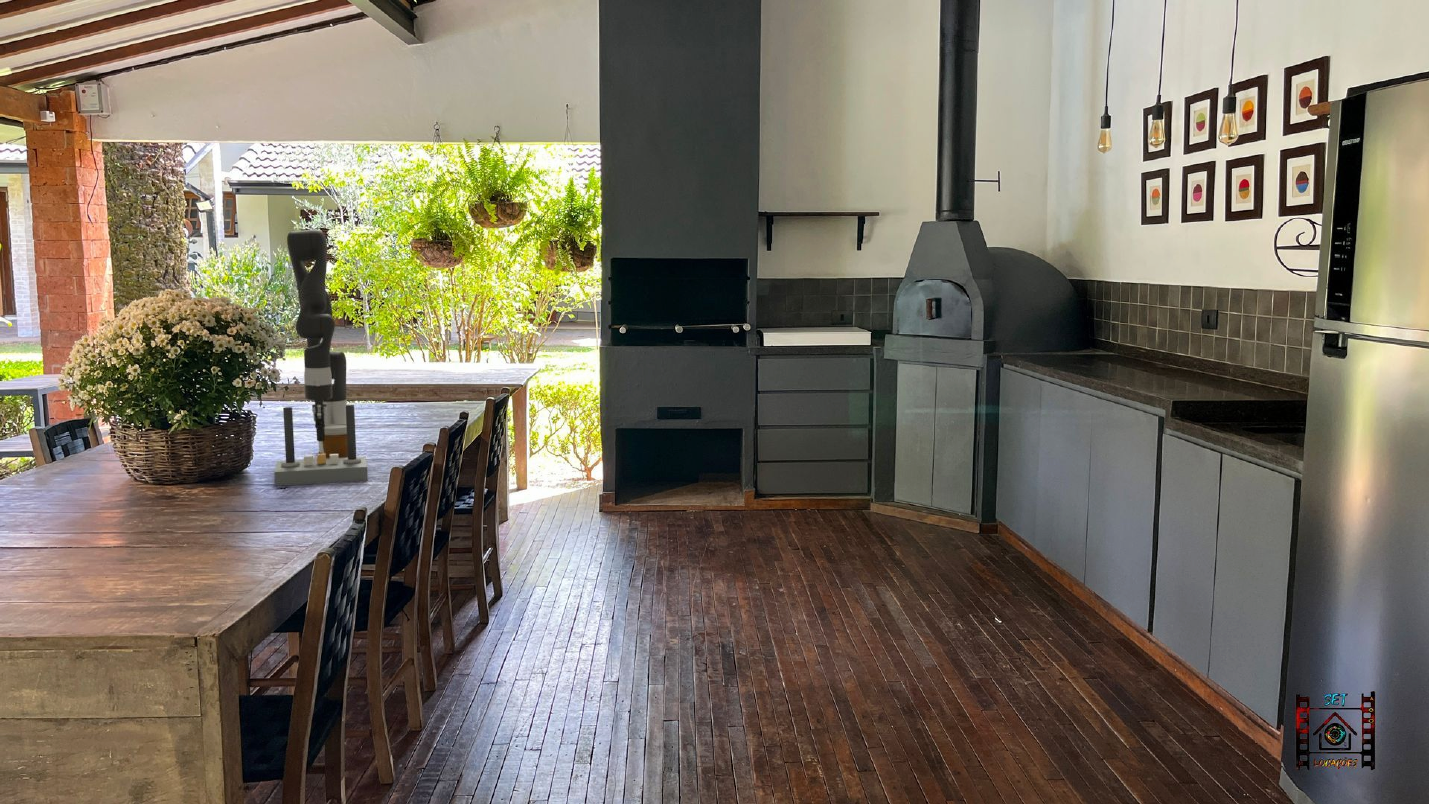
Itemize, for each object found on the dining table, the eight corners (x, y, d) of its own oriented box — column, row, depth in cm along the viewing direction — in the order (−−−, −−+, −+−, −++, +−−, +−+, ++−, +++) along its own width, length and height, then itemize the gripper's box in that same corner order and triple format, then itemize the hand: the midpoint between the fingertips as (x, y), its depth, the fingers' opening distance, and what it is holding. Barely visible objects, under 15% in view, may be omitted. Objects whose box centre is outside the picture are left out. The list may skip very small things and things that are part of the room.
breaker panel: (277, 474, 320) (276, 452, 319) (366, 469, 328) (365, 447, 327) (274, 485, 305) (273, 463, 304) (367, 480, 313) (366, 458, 312)
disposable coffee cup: (346, 467, 330) (345, 428, 329) (315, 466, 331) (314, 428, 329) (357, 461, 340) (355, 423, 338) (327, 460, 340) (325, 423, 338)
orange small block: (317, 462, 316) (316, 453, 316) (326, 462, 317) (325, 453, 316) (317, 463, 314) (316, 455, 314) (325, 463, 315) (325, 454, 315)
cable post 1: (281, 464, 314) (278, 406, 312) (300, 463, 316) (297, 406, 313) (280, 467, 310) (277, 409, 307) (299, 466, 311) (296, 408, 309)
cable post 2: (343, 461, 320) (340, 404, 317) (361, 460, 321) (358, 403, 319) (343, 464, 315) (340, 406, 313) (361, 463, 317) (359, 406, 314)
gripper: (305, 380, 319) (308, 437, 322) (303, 385, 307) (306, 445, 310) (332, 379, 322) (334, 436, 324) (331, 384, 309) (334, 444, 312)
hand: (320, 440), depth 317 cm, fingers closed
